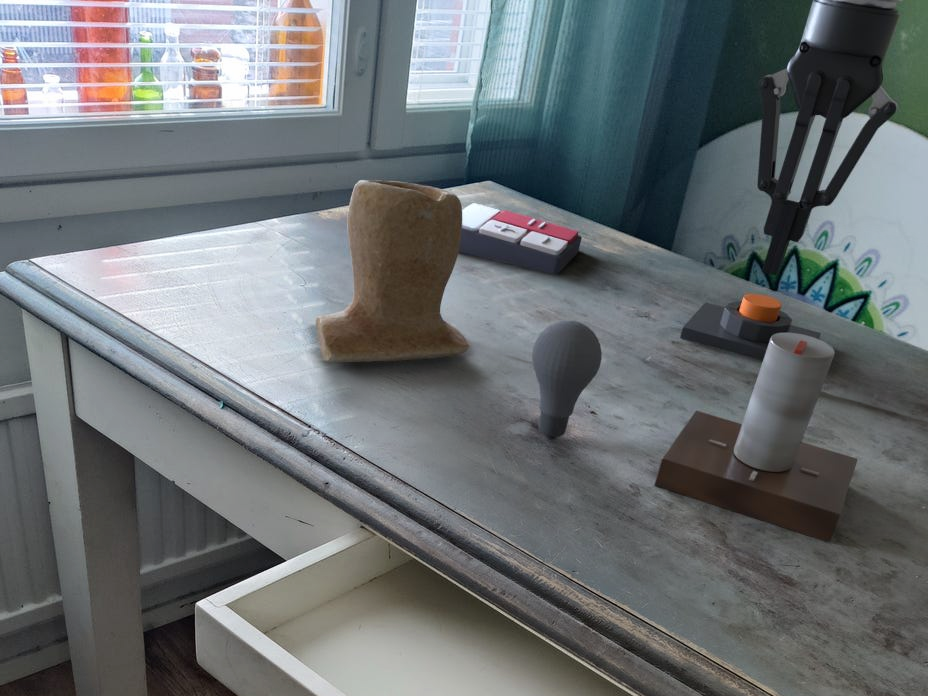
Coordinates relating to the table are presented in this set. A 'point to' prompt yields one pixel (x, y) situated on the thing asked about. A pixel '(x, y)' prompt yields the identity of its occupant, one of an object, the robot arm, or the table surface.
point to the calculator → (517, 239)
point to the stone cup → (397, 275)
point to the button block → (737, 330)
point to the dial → (783, 401)
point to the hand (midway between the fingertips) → (771, 270)
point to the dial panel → (757, 478)
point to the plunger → (760, 307)
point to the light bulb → (563, 371)
